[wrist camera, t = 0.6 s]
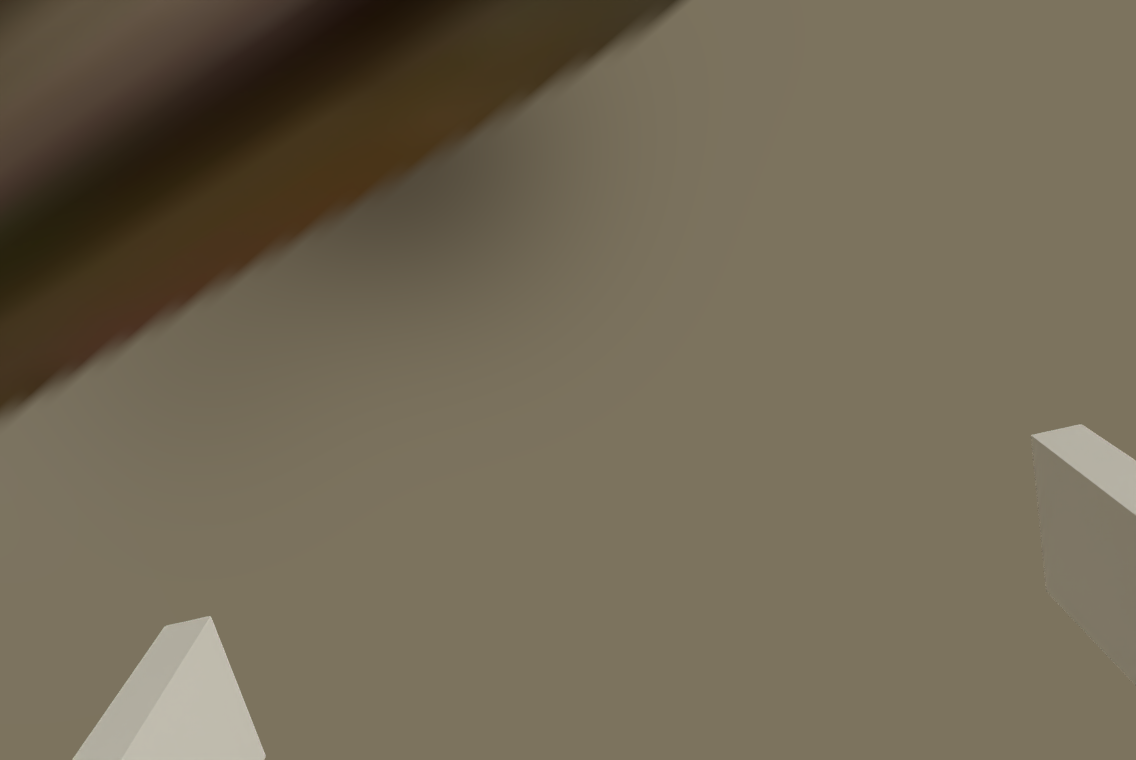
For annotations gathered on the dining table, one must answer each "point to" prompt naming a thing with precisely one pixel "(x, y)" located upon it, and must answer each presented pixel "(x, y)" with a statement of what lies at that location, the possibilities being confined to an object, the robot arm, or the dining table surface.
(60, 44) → the dining table surface
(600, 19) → the dining table surface
